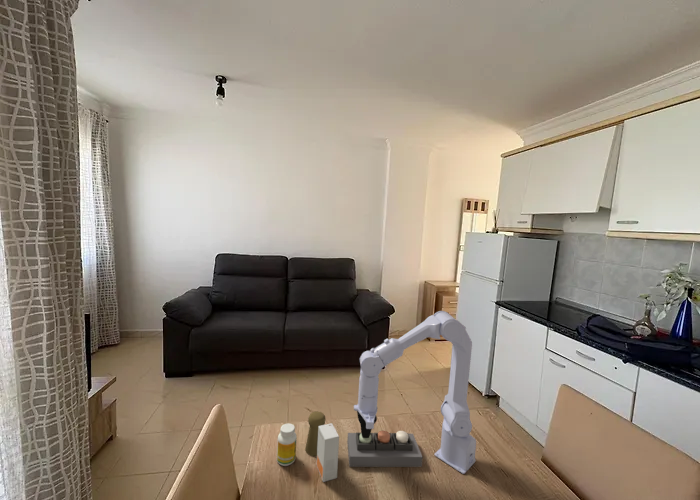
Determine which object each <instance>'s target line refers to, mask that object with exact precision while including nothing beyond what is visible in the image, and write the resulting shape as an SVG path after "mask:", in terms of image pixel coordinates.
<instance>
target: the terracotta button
mask: <svg viewBox="0 0 700 500" xmlns="http://www.w3.org/2000/svg"><path fill="white" fill-rule="evenodd" d="M377 433H378V441H379V442H380V443H383V444H387V443H389V442H390V434H389V433H390V432H388V431H386V430H380V431H378V432H377Z"/></svg>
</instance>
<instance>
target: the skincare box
mask: <svg viewBox="0 0 700 500" xmlns="http://www.w3.org/2000/svg"><path fill="white" fill-rule="evenodd" d="M339 445H340V436H339V434H338V432H337V429H336V427H335V425H333V423H332V422H331V423H328V424H326V423H325V424H324V425H321V426H318V445H317V456H316V465H315V466H316V468H317V471H318V473H319V475H320V477H321V479H320V480H322V483H325V482H328V481H332V480H335V479H337V478H338V466H339V465H338V463H339V450H340V449H339V448H340V447H339Z"/></svg>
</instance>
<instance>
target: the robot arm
mask: <svg viewBox="0 0 700 500" xmlns="http://www.w3.org/2000/svg"><path fill="white" fill-rule="evenodd" d="M466 329H467V328H466V326H464V324H462V323H461V322H460V321H459V320H457V319H456V318H454V317H453V316H452V314H450V313H449V312H447V311H445V310H439V311H436V312H435V313H434V314H432V315H430V316H428V317H427V318H426V319H425V320H423V321H422V322H421V323H419V324H418V325H416V326H415V327H414V328H412V329H410V330H409V331H408V332H406V333H405V334H403V335H402V336H400V337H399V338H393V337H391V338H390V339H389V338H386V339H384V340H383V342H382V343H381V344H379V345H377V346H376V347H372V348H371V349H370V350H366V351H363V352H362V353H361V355H360V357H359V363H360V370H359V371H360V372H359V375H360V376H359V379H358V380H359V381H358V396H357V398H358V399H357V404H354V405H353V411H356V413H357V419H358V422H359V425H360V433H361V434H362V438H369V436H370V433H372V430H375V429H374V428H375V427H374V426H375V424H376V422H377V420H378V418H377V412H378V395H379V381H380V379H379V375H380V373H381V372H382V369H383V368H385V367H386V366H387V365H389V364H391V363H393V362H394V361H396V360H398V359H400V358H401V357H402V356H403V355H404V351H405V350H406V349H408V348H410V347H411V346H414V345H415V344H417V343H420V342H422V341H423V340H425V339H427V338H432V339H436V340H441V337H442V338H443V339H444V340H446V341H447V342H450V343H451V344H452V350H451V359H450V360H451V361H450V372H449V381H448V392H447V394H445V395H444V400H443V402H442V404H441V406H440V413H441V415H442V416H443V421H442V423H441V424H442V426H441V437H440V439H441V440H440V448H439V449H438V450H437V451H436V452H434V456H435V457H436V458H438V459H440V460H441V461H442V462H444V463H445V464H447V465H449V466H450V467H452V468H453V469H454V470H456V471H457V472H460V474H462V475H463V474H466V473H467V472H468V471H469V469H471V467H472V466H473V465H474V464H475V462H476V460H477V459H476V452H477V451H476V449H477V440H476V438H475V437H473V435H471V434H470V433H471V432H472V429H473V423H472V421H471V417H470V416H471V411H470V408H469V405H468V401H467V399H468V392H469V391H468V390H469V381H470V380H469V379H470V367H471V360H472V358H471V357H472V349H473V342H472V339H471V338H470V335H469V334H468V332H467V330H466Z"/></svg>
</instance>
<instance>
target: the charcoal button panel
mask: <svg viewBox="0 0 700 500" xmlns="http://www.w3.org/2000/svg"><path fill="white" fill-rule="evenodd" d="M396 433H397V432H392V433H391V432H389V434H390V442H389V443H387V444H383V443H380V442H379V441H378V432H371V433H370V435H371V443H360V442H359V436H360V434H361V432H347V439H346V440H347V441H346V443H347V453H348V467H350V468H352V467H354V468H357V467H358V468H359V467H360V468H361V467H362V468H363V467H364V468H365V467H366V468H367V467H368V468H369V467H370V468H371V467H373V468H374V467H375V468H376V467H377V468H378V467H379V468H380V467H381V468H383V467H385V468H395V467H397V468H401V467H402V468H403V467H404V468H421V467H422V468H423V455H422V452H421V449H420V448H419V447H420V446H419V445H418V443H417V440H416V437H415V436H414V435H415V434H414V433H409V432H406V433H407V434H408V442H407V443H406V444H401V443H399V442H397V440H396Z"/></svg>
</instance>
